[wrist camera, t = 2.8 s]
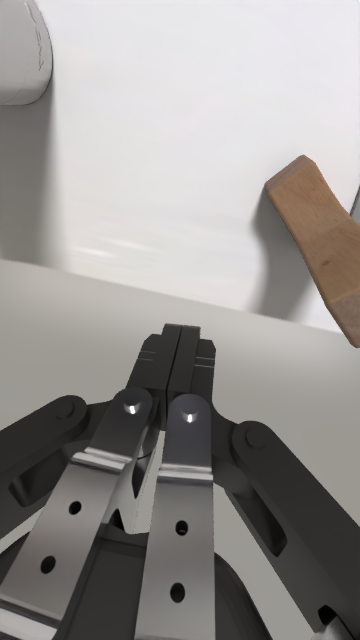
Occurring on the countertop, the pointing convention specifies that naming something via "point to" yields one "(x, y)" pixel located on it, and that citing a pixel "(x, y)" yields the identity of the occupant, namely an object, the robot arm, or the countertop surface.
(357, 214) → the grey mat
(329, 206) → the wooden block
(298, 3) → the countertop surface
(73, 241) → the countertop surface
